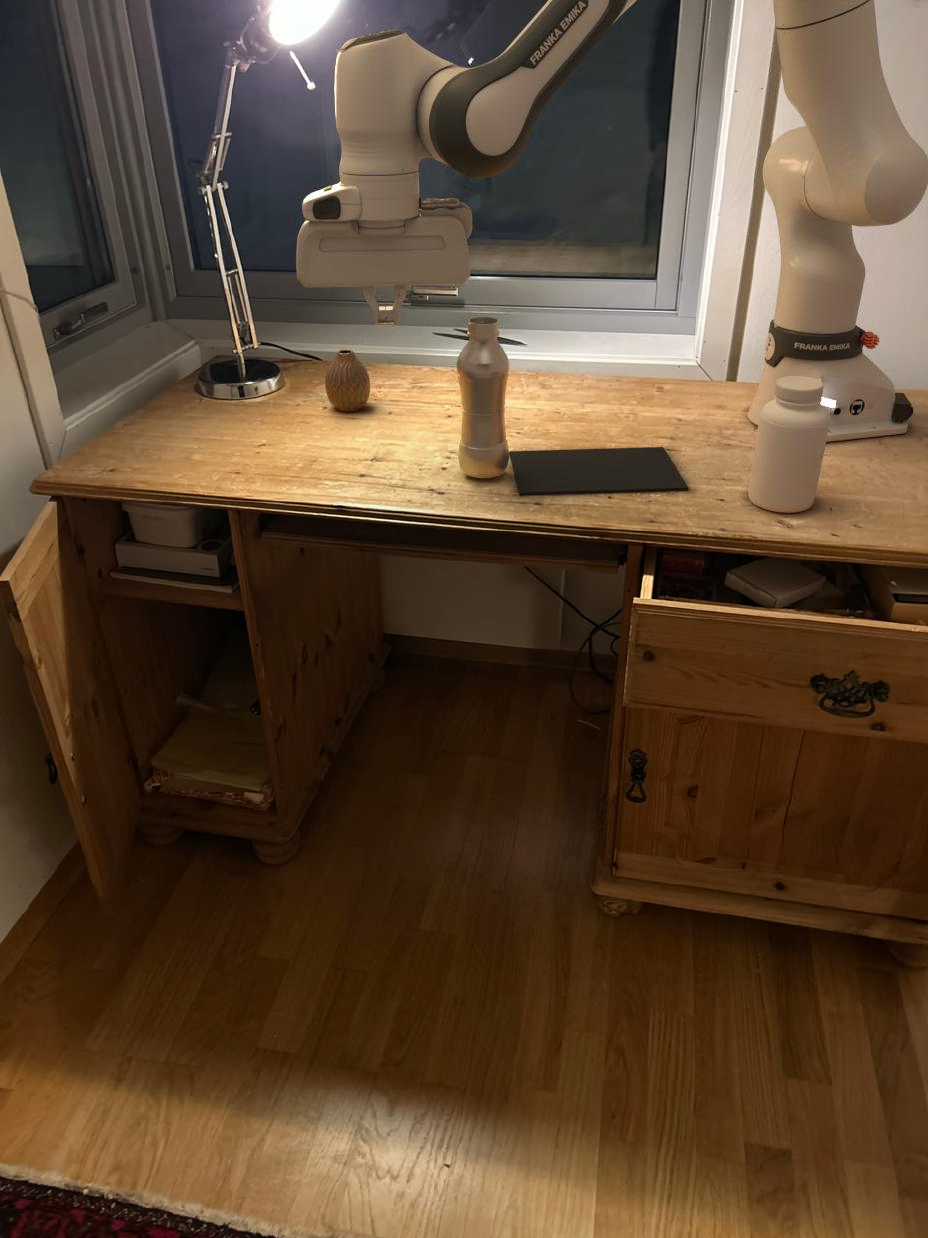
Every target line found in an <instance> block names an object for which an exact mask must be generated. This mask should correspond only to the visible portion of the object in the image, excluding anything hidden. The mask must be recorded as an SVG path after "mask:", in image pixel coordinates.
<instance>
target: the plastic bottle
mask: <svg viewBox="0 0 928 1238" xmlns="http://www.w3.org/2000/svg"><path fill="white" fill-rule="evenodd" d="M467 321H468V322H467V332H466V336H467V338H469V339H468V341H467V343H466V344H465V345H464V347H463V348H462V350H461V351H460V352H459V354H458V357H457V360H456V372H457V380H458V385H459V391H460V400H461V415H462V416H461V429H460V430H461V432H460V441H459V445H458V451H457V452H458V453H457V456H458V458H457V459H458V463H459V467H460V469H461V470H462V472H463V473H464V474H465V475H467V476H468V477H470V478H471V477H472V478H476V479H493V478H497V477H500V476H501V475H503V474H504V473H505V472H506V470H507V468H508V465H509V460H510V455H509V451H510V449H509V444H508V443H509V442H508V440H507V430H506V420H505V419H506V418H505V409H506V407H505V405H506V395H507V394H506V392H507V388H508V387H507V385H508V379H509V372H510V361H509V358H508V354H507V353H506V352H505V350H504V348H503V346H502V345H501V344H500V343H499V341H498V338H499V337H500V329H499V328H500V323H499V321H500V320H499V319H498V318H495V317H491V316H477V317H472V318H469V319H468V320H467Z"/></svg>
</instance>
